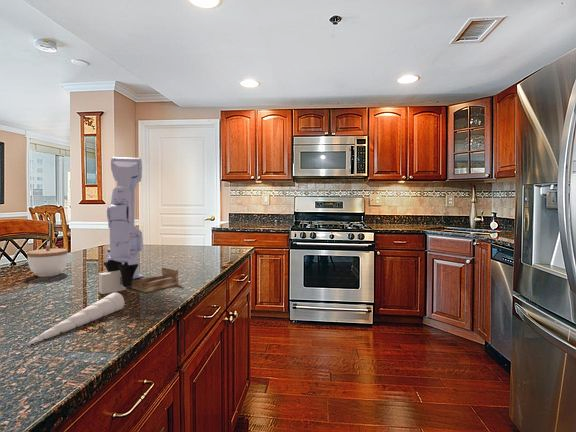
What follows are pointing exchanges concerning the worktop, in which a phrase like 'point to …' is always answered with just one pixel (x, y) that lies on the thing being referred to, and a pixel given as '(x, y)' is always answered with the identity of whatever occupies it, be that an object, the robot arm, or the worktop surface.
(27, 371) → the worktop surface
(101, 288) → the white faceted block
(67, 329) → the unicorn horn
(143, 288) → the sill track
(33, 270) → the lidded bowl
